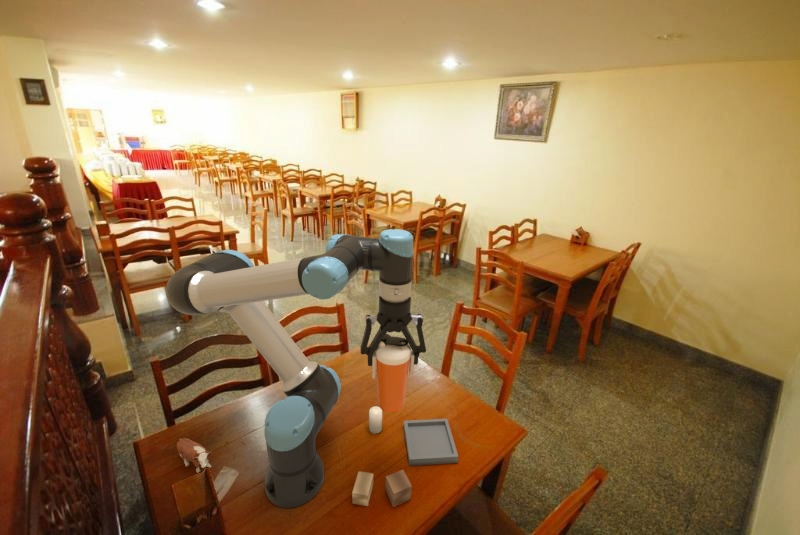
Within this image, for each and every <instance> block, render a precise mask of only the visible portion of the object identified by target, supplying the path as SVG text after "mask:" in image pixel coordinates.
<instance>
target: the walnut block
mask: <svg viewBox="0 0 800 535" xmlns="http://www.w3.org/2000/svg"><path fill="white" fill-rule="evenodd" d="M384 486H385V488H384V490H385V493H386V494H387V497H388V499H389V501H390V504H391V506H392V507H393V508H394V507H396V506H399V505H401V504H404V503H406V502H408V501H410V500H411V499H412V490H413V489H412V488H413V486H412V484H411V482H410V479H409V477H408V476H407V475H406V472H405V471H404V469H401V470H399V471H396V472H394V473H391V474H389V475H386V476H385V485H384Z"/></svg>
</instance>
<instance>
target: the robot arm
mask: <svg viewBox="0 0 800 535" xmlns="http://www.w3.org/2000/svg"><path fill="white" fill-rule="evenodd" d="M414 255H415V252H414V236H413V234H412V233H411V232H409V231H408V230H405V229H399V228H395V229H393V228H391V229H385V230H383V231H381V232H380V234H379V237H369V236H361V235H352V234H348V233H347V234H346V233H345V234H337V233H336V234H333V235H331V236H330V237H329V239H328V241H327V243H326V248H325V252H324V253H322V254H317V255H311V256H307V257H300V258H295V259H289V260H284V261H283V260H282V261H277V262H272V263H267V264H260V265H256V266H255V264H254V263H253V261H252V260H251V259H250V258H249V257H248V256H247V255H246V254H244V253H243V252H241V251H238V250H234V249H224V250H220V251H217V252H216V251H215V252H213V253H211V254H209V255H207V256H205V257H203V258H201V259H199V260H197V261H194V262H192V263H190V264H188V265H184V266H183V267H181V268H179V269H178V270H176V271H175V272H174V273H173V274H172V275H171V276H170V277H169V279H168V281H167V283H166V288H165V295H166V299H167V301H168V303H169V305H170V306H171V307H172V308H173V309H175V311H177V312H179V313H181V314H184V315H189V316H190V315H191V316H199V315H206V314H212V313H216V312H217V311H218V312H220V313H227V314H229V315H230V317H231V318H232V319H233V320H234V322H235V323H236V324H237V325H238V327H239V328H240V330H241V331H242V332H243V333H244V335H245V336H246V337H247V338H248V339H249V340H250V342H251V343H252V344H253V346H254V348H256V349H257V350H258V352H259V353H260V355H262V357H263V358H264V360H265V361H266V362H267V363H268V364H269V366H270V367H271V368H272V369H273V371H274V372H275V373H276V375H277V376H278V377H279V378H280V379H281V380H282V388H281V390H282V392H283V393H284V394H285V398H284V399H283V400H282V399H279V400H278V401H276V402H274V404H273V405H272V406H271V407H270V408H269V410H268V412H267V413H266V416H265V419H264V431H263V432H264V440H265V444H266V448H267V451H266V452H267V456H268V466H267V470H266V473H265V476H264V489H265V494H266V497H267V499H268V500H269V502H270V503H272V504H273V505H275V506H277V507H279V508H284V509H285V508H286V509H291V508H296V507H300V506H303V505H305V504H306V503H308V502H309V501H311V500H312V499H314V497H315V496H317V494H319V491H320V490H321V489H322V487H323V484H324V480H325V467H324V463H323V461H322V459H321V457H320V456H319V454H318V452H317V448H316V446H317V444H316V440H317V439H316V438H317V437H318V436H317V435H318V434H319V433H320V430H321V429H322V427H323V425H324V424H325V422H326V421H327V418H328V417H329V416H330V413H331V412H332V410H333V408H334V407H335V405H336V404H337V402H338V401H339V397H340V394H341V393H342V392H341V391H342V384H341V383H342V381H341V380H340V377H339V375H338V374H337V373H336V371H335V370H334V369H332V368H331V367H327V365H325V364H319V363H318V362H317V361H312V360H311V361H310V360H309V359H308V358H307V356H305V354H304V353H303V351H302V350H301V349H300V347H299V346H298V345H297V343H296V342H295V340H293V338H292V337H291V335H290V334H289V333H288V332H287V330H286V329H285V328H284V327H283V325H282V324H281V323H280V322H279V321H280V320H278V319H277V318H276V316H275V315H274V314H273V312H272V311H271V310H270V309H269V308H270V307H268V306H267V304H266V303H265V302H266V301H273V300H280V299H287V298H293V297H300V296H306V295H309V296H311V297H312V298H316V299H319V300H329V299H331V298H333V297H334V296H336V295H338V294H339V293H341V291H343V290H344V288H346V286H347V284H349V282H350V281H351V280H352V279H353V277H355V276H356V275H357V274H358V273H359V271H361V270H363V271H371V272H378V274H379V275H378V278H379V279H378V281H379V282H378V285H379V286H378V287H379V288H378V294H379V296H378V312H377V314H376V315H373V316H371V314H366V315H365V329H364V332H363V337H362V340H361V344H360V354H361V355H366V356H367V366H368V367H371V374H372V375H371V376H372V379H376V367H377V361H376V355H375V350H376V349H377V347H378V345H379V344H380V342H381V340H382V339H383V337H384V336H385V335H386V333H387V334H388V333H394V332H395V333H402V335H403V336H404V338H405V339H406V340H407V341H408V345H409V346H410V348H411V357H410V359H409V367H408V375H409V378H414V368H415V366H414V365H418V363H419V356H420V354H421V353H423V354H424V353H426V352H427V347H426V342H425V337H424V333H423V322H424V319H423V317H422V314H421V313H418V314H416V315H415V314H414V315H413V314H412V313H411V304H412V298H411V296H412V283H413V282H412V281H413V280H412V279H413V268H414V267H413V264H414ZM264 301H265V302H264ZM376 322H377V323H378V324H379V328H378V331H377V332H376V333H375V334H374V337H373V338H372V340H371V342H370V344H369V341H370V337H371V333H372V328H373V327H374V326H375V324H376ZM411 322H413V325H415V328H416V332H417V338H418V342H419V345H417V343H416V341H415V340H414V337H413V336H412V334H411V332H410V331H409V328H408V325H409V324H410V323H411ZM368 344H369V346H368ZM340 381H341V382H340Z"/></svg>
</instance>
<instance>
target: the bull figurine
mask: <svg viewBox="0 0 800 535" xmlns="http://www.w3.org/2000/svg"><path fill="white" fill-rule="evenodd" d="M176 450H177V452H178V454H179V456H180V457H181V459H182V460H183V461H184V462H183V463H184V464H185V467H189V466H190V462H192V463H193V465H194V466H195V468H196V469H195V470H196V473H197V474H200V473H201V471H202V470H201V468H202V469H205V468H206V467H210V469H212V465H211V464H210V463H209V459H208V457H209V455H211V454H212V453H213V451H212V450H210V451H208V449H206V448H205V446H203V445H201V444H200V443H199V442H196V441H193V440H191V439H190V438H187V437H183V438H179V439H178V441H177V442H176ZM200 467H201V468H200ZM199 472H200V473H199Z"/></svg>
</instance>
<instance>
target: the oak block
mask: <svg viewBox="0 0 800 535" xmlns="http://www.w3.org/2000/svg"><path fill="white" fill-rule="evenodd" d="M373 485H374V473H371V472H366V471H359V470H358V472H357V476H356V478H355V482H354V486H353V488H352V493H351V496H352V497H351V499H352V500H351V501H352V504H354V505H359V506H365V507H368V506H369V504H370V503H369V502H370V499H371V494H372V490H373V488H374V486H373Z"/></svg>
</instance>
